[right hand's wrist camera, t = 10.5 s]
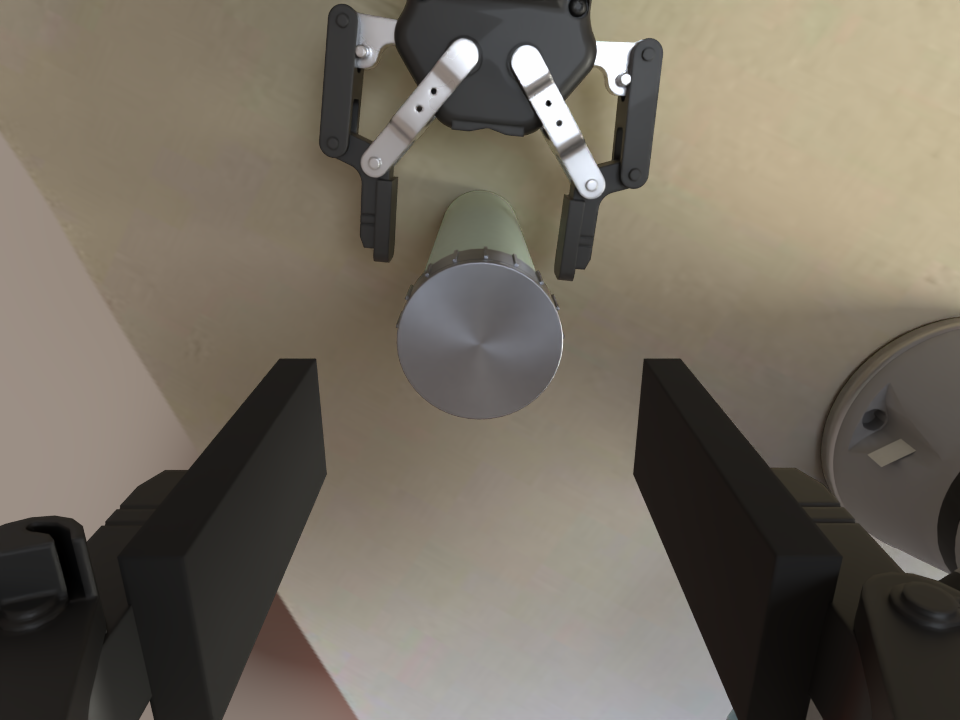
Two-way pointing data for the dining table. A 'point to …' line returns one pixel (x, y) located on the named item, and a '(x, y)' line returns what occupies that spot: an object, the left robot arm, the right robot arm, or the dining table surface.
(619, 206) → the dining table surface
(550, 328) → the lid
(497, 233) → the pale green bottle
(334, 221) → the dining table surface
